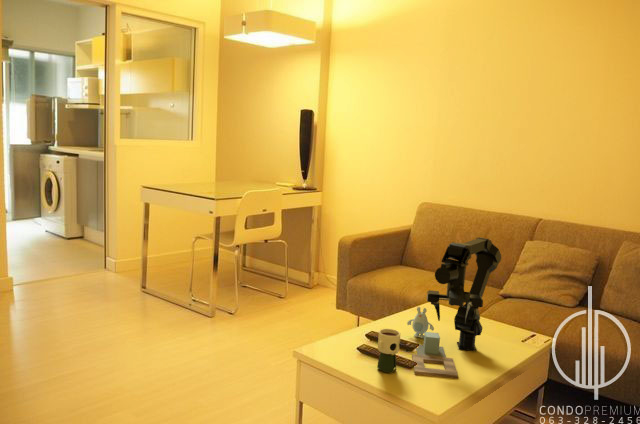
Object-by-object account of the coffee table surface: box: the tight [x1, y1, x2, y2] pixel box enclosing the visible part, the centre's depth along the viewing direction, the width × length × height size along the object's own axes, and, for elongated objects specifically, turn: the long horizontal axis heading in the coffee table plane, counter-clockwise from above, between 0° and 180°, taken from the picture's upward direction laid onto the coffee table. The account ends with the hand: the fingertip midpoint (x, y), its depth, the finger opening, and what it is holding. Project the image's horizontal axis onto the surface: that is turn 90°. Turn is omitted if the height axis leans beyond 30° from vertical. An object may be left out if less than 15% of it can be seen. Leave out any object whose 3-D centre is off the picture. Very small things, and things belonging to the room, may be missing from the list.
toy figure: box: [406, 306, 435, 339], centre depth 209 cm, size 11×6×12 cm, turn 63°
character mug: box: [376, 328, 401, 373], centre depth 178 cm, size 11×7×13 cm, turn 139°
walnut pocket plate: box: [411, 353, 459, 379], centre depth 183 cm, size 14×14×1 cm
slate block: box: [422, 331, 441, 354], centre depth 196 cm, size 5×5×6 cm
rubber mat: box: [415, 344, 447, 357], centre depth 196 cm, size 10×10×1 cm
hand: (452, 322), depth 191 cm, fingers open, 9 cm apart
